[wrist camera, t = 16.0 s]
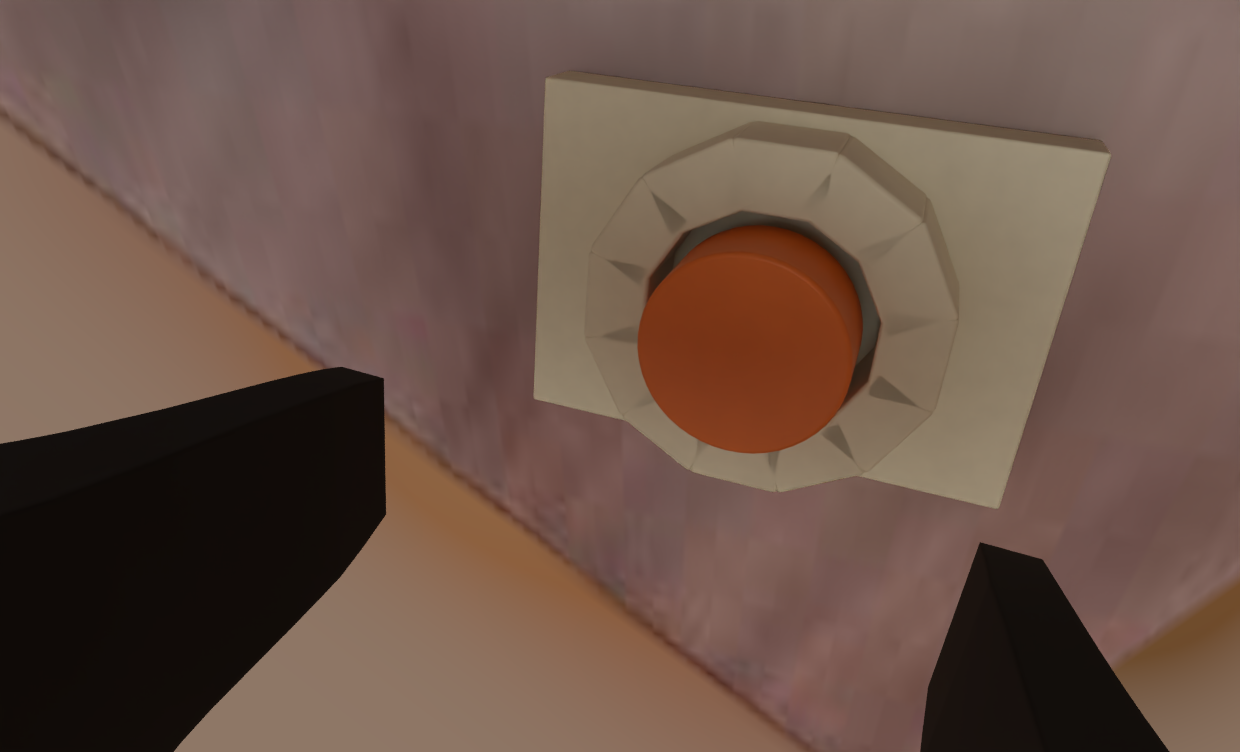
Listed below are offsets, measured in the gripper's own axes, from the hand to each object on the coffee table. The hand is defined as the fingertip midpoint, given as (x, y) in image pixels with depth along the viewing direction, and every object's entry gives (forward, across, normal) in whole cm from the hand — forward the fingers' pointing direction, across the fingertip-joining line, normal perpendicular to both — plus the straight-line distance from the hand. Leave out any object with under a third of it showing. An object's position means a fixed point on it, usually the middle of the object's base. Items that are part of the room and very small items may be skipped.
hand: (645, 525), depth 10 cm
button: (+7, 0, 0) cm, 7 cm away
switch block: (+9, 0, 0) cm, 9 cm away
